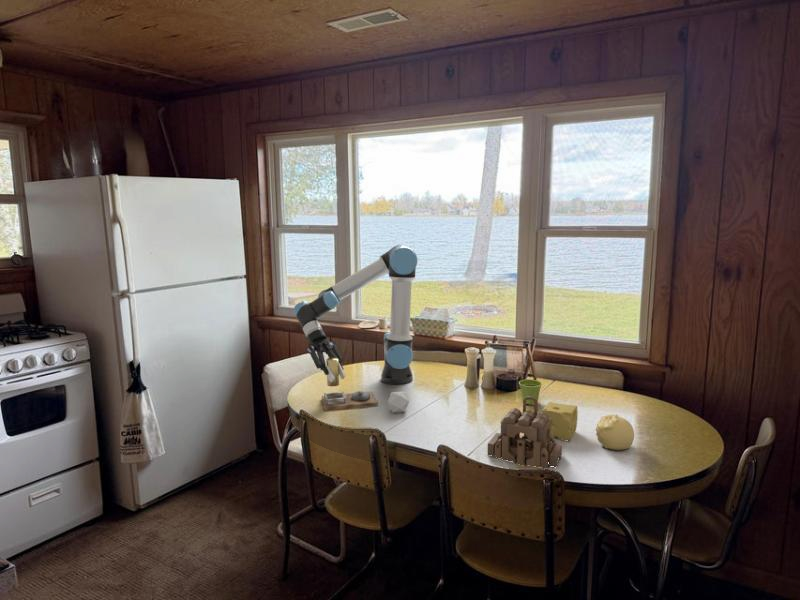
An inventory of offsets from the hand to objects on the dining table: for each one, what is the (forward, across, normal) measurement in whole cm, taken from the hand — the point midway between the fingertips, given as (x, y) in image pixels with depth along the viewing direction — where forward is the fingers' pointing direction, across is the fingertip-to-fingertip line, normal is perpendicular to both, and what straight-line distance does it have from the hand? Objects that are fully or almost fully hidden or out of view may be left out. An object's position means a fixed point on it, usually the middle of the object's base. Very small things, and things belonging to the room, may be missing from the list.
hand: (338, 378), depth 221 cm
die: (+24, -14, +7) cm, 28 cm away
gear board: (+8, -6, -8) cm, 13 cm away
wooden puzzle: (+65, -17, +48) cm, 83 cm away
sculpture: (+76, -44, +61) cm, 107 cm away
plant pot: (+46, -59, +30) cm, 80 cm away
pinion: (0, 0, -5) cm, 5 cm away
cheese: (+63, -40, +47) cm, 89 cm away
